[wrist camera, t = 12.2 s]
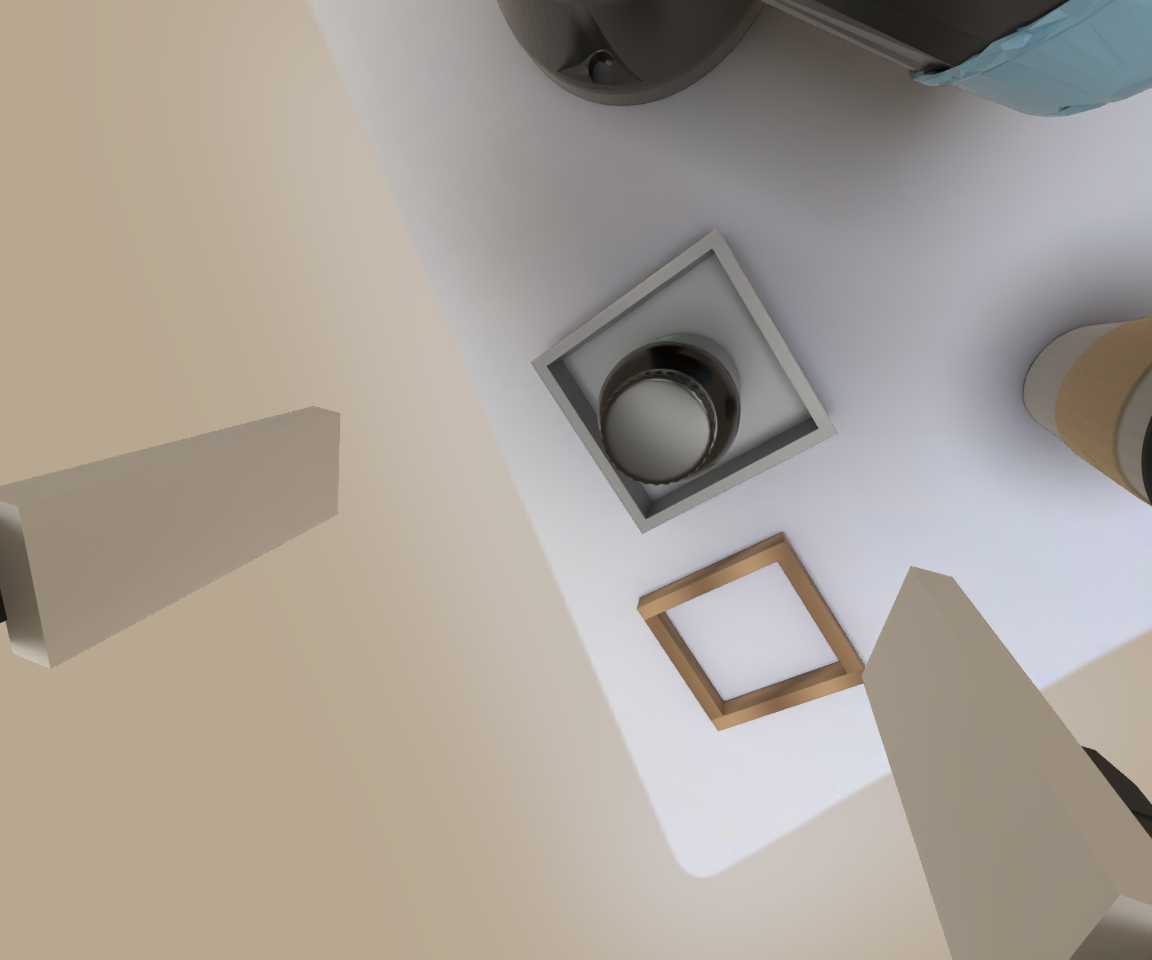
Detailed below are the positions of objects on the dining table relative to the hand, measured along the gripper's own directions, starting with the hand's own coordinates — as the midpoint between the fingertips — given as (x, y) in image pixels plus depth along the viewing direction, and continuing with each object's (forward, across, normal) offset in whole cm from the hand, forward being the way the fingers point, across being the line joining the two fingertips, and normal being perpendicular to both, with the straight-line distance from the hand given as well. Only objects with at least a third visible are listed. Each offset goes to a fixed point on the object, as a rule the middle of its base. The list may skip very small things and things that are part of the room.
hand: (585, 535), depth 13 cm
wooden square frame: (+24, +8, -16) cm, 30 cm away
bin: (+24, 0, 0) cm, 24 cm away
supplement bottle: (+24, 0, 0) cm, 24 cm away
